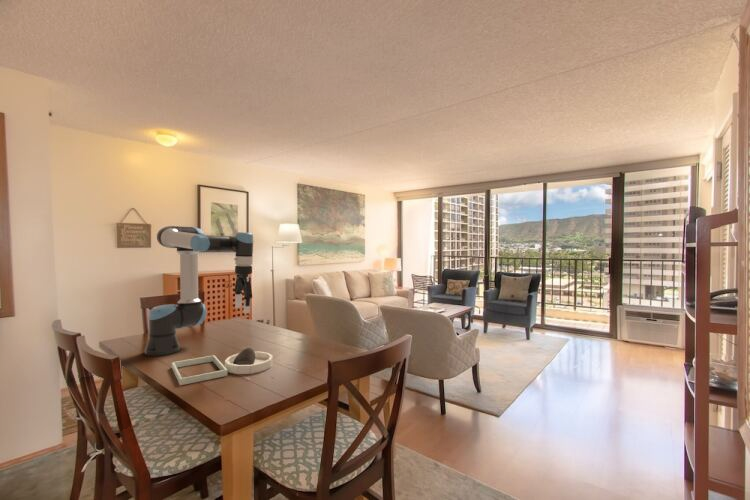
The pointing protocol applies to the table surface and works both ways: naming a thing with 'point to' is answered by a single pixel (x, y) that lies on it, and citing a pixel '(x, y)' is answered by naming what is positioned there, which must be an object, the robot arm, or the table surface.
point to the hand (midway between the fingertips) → (242, 310)
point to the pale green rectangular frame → (202, 376)
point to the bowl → (260, 364)
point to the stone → (245, 357)
